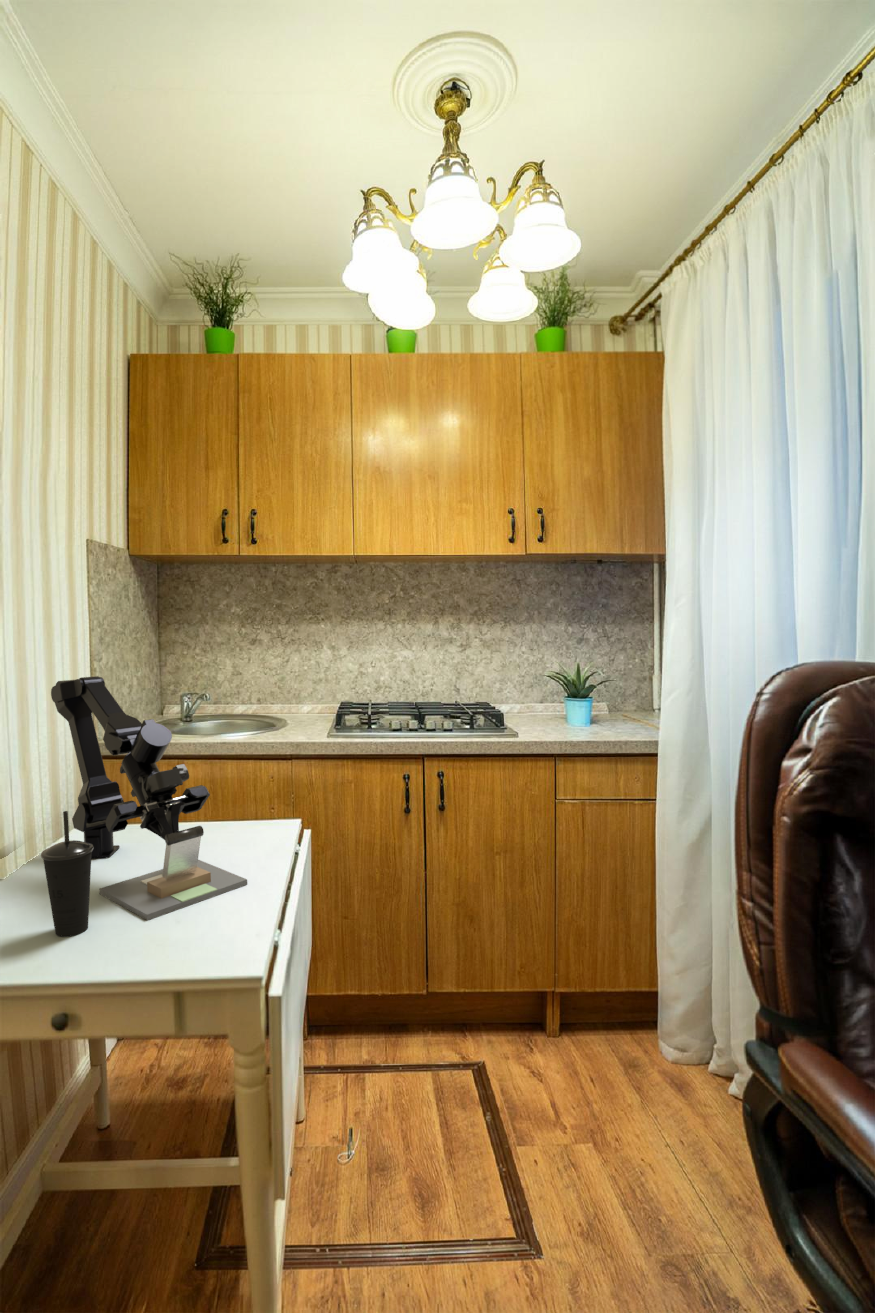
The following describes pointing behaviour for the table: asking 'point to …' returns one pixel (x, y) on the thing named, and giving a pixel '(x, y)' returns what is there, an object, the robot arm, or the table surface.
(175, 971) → the table surface
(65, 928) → the drinking cup
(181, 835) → the bench scraper
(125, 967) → the table surface
